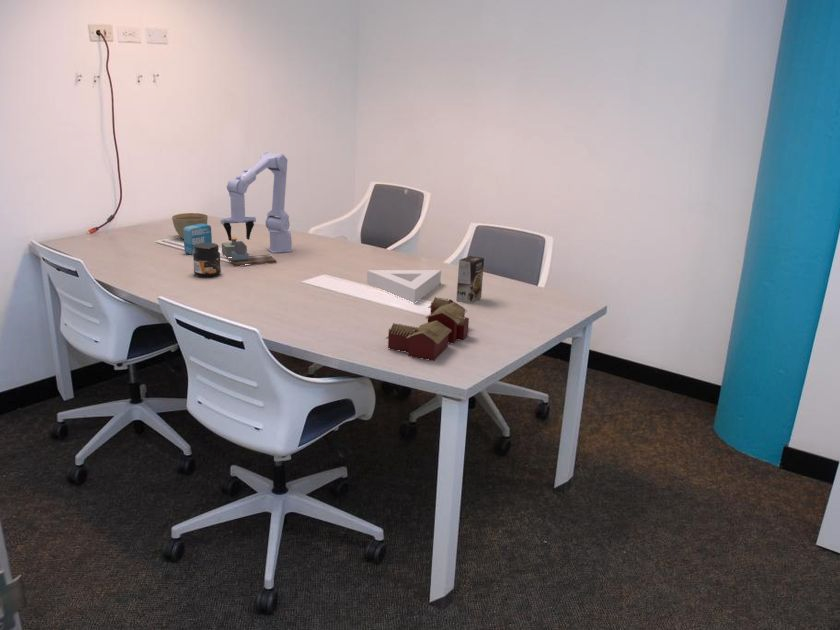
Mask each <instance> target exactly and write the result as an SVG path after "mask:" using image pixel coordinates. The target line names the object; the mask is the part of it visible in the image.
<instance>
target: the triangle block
mask: <svg viewBox="0 0 840 630" xmlns="http://www.w3.org/2000/svg"><path fill="white" fill-rule="evenodd" d="M441 277H442V270H441V269H430V270H429V269H407V270H406V269H404V270H403V269H396V270H395V269H392V270H391V269H387V270H385V269H381V270H378V269H375V270H374V269H372V270H371V269H369V270H368V269H367V270H366V284H367V283H368V284H370V285H373V286H375V287H377V288H380V289H382V290H385V291H387V292H390V293H392V294H394V295H397V296H399V297H401V298H404V299H406V300H409V301H411V302H413V303H415V302H416V301H418V300H419V299H420V300H422V299H423V298H424V297H425V296H427V295H428V294H429V293H430V292H432V291H433V290H434V289H436V288H437V287H438V286H439V285H441V282H442V281H441V279H442V278H441ZM368 284H367V285H368ZM370 285H369V286H370ZM436 286H437V287H436ZM375 287H374V288H375ZM435 287H436V288H435ZM377 288H376V289H377ZM382 290H381V291H382ZM431 290H432V291H431ZM427 293H428V294H427ZM426 294H427V295H426ZM423 296H424V297H423ZM422 297H423V298H422ZM421 298H422V299H421ZM420 300H419V301H420ZM419 301H418V302H419ZM415 304H416V303H415Z"/></svg>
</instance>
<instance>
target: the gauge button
mask: <svg viewBox="0 0 840 630" xmlns="http://www.w3.org/2000/svg"><path fill="white" fill-rule="evenodd" d="M231 238H232V240H231V242H232V245H235V242H236V241H238V237H235V236H234V237H232V236H231Z"/></svg>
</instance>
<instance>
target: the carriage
mask: <svg viewBox="0 0 840 630" xmlns="http://www.w3.org/2000/svg"><path fill="white" fill-rule="evenodd" d="M245 245H246V244H245V242H243V241H242V240H239V241H238V240H236V242H235V252H231V256H232V258H234V261H242V260H248V259H249V256H250V253H248V252H246V251H245Z"/></svg>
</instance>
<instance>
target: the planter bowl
mask: <svg viewBox="0 0 840 630" xmlns="http://www.w3.org/2000/svg"><path fill="white" fill-rule="evenodd" d="M171 219H172V223H173V228H174V229H175V231H176V233H177V235H179V236H180V239H181V238H182V239H184V234H183V229H184V228H185V227H187V226H192V225H197V224H206V225H208V219H209V218H208V214H204V213H199V212H197V213H196V212H195V213H194V212H187V213H178V214H175V215H174V214H173V215H172V217H171ZM182 239H181V240H182Z"/></svg>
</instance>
